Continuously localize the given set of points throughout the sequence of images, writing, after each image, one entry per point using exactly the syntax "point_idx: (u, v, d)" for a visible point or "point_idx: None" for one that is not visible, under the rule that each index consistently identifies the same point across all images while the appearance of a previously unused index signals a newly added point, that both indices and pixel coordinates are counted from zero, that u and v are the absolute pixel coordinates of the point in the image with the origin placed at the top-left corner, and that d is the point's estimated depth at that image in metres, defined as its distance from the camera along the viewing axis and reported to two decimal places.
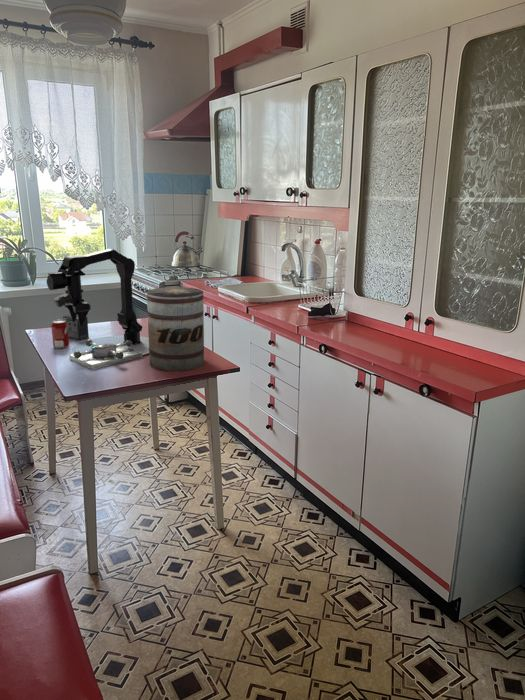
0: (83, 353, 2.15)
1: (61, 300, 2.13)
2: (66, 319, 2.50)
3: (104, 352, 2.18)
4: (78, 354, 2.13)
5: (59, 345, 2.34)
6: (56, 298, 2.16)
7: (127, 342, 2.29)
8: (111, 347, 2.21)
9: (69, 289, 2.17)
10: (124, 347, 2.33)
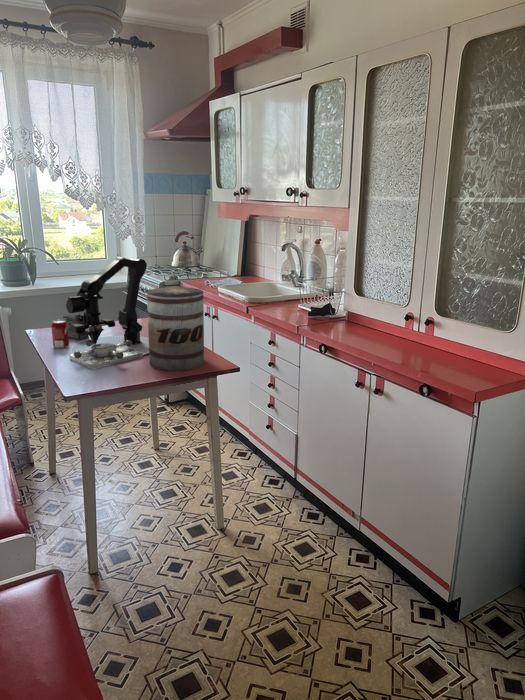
0: (83, 353, 2.15)
1: (75, 317, 2.30)
2: (66, 319, 2.50)
3: (104, 352, 2.18)
4: (78, 354, 2.13)
5: (59, 345, 2.34)
6: None
7: (127, 342, 2.29)
8: (111, 347, 2.21)
9: None
10: (124, 347, 2.33)
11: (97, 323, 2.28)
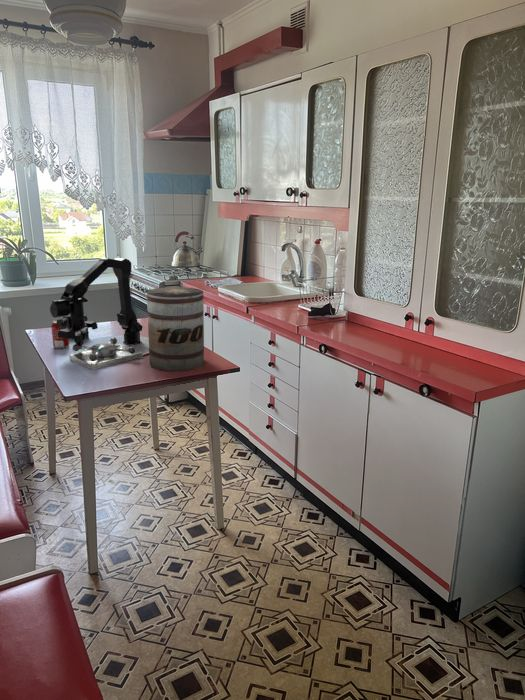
0: (96, 355, 2.13)
1: (57, 323, 2.21)
2: (66, 319, 2.50)
3: (112, 351, 2.20)
4: (96, 356, 2.10)
5: (59, 345, 2.34)
6: (63, 320, 2.25)
7: (114, 340, 2.32)
8: (112, 345, 2.23)
9: None
10: (124, 347, 2.33)
11: (84, 326, 2.22)
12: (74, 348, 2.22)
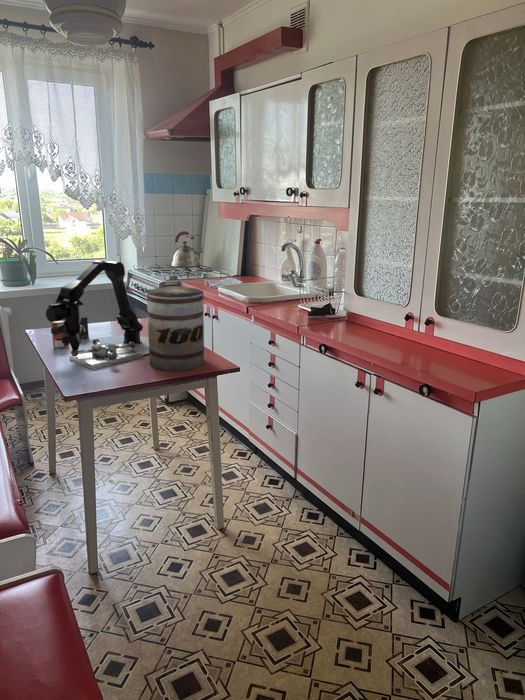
0: None
1: (53, 330, 2.10)
2: None
3: (115, 349, 2.23)
4: (115, 355, 2.13)
5: (59, 345, 2.34)
6: None
7: (98, 340, 2.31)
8: (110, 344, 2.25)
9: (65, 319, 2.13)
10: None
11: (80, 330, 2.17)
12: (75, 353, 2.15)
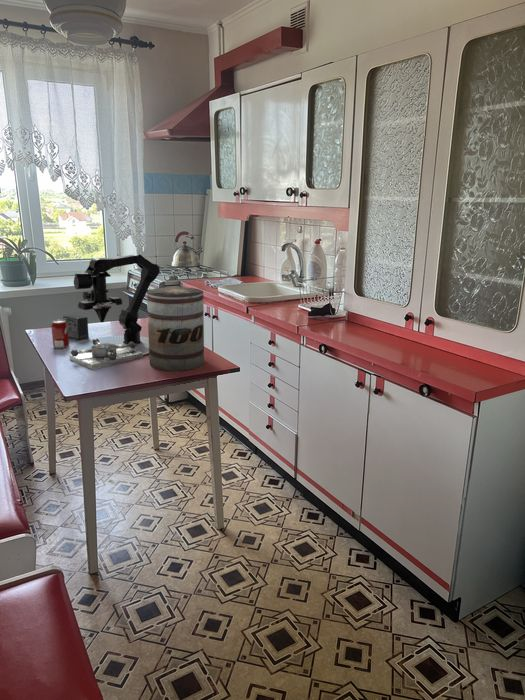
0: None
1: (83, 295, 2.33)
2: (66, 319, 2.50)
3: (115, 349, 2.23)
4: (115, 355, 2.13)
5: (59, 345, 2.34)
6: None
7: (98, 340, 2.31)
8: (110, 344, 2.25)
9: None
10: None
11: (105, 300, 2.30)
12: (75, 353, 2.15)
